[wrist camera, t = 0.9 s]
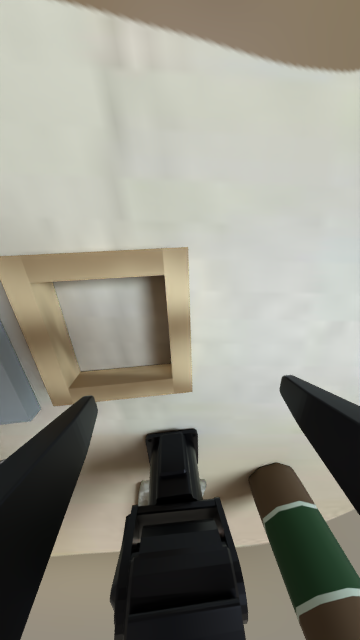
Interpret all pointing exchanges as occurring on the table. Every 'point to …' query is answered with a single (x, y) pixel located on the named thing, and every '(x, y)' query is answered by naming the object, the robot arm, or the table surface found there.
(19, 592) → the robot arm
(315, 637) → the beer bottle
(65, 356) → the oak loop
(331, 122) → the table surface
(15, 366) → the hook board
